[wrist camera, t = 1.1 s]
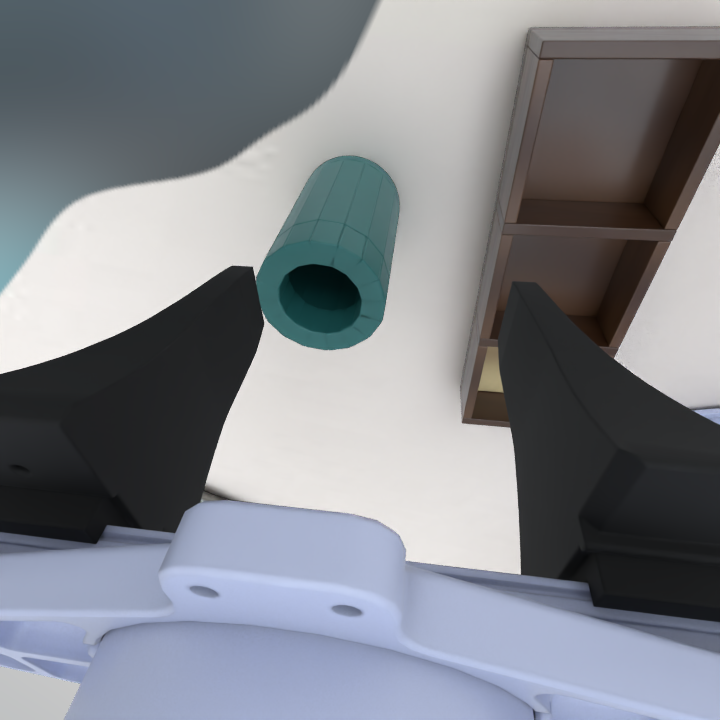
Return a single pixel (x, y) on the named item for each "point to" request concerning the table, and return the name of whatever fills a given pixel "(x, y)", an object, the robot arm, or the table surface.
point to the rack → (593, 181)
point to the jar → (333, 257)
